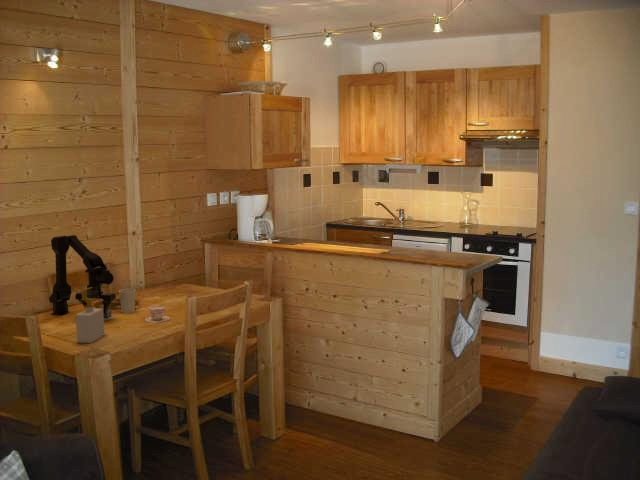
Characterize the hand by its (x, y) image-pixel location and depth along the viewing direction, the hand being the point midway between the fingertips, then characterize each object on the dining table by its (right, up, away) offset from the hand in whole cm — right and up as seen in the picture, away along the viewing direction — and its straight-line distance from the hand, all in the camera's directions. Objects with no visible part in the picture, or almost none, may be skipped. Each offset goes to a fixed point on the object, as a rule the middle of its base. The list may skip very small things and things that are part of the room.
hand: (96, 313), depth 338 cm
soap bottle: (+7, -8, -30) cm, 32 cm away
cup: (+12, -2, +14) cm, 18 cm away
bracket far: (+1, -2, +4) cm, 5 cm away
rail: (0, -2, 0) cm, 2 cm away
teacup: (+29, -4, +2) cm, 29 cm away
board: (0, -4, 0) cm, 4 cm away
